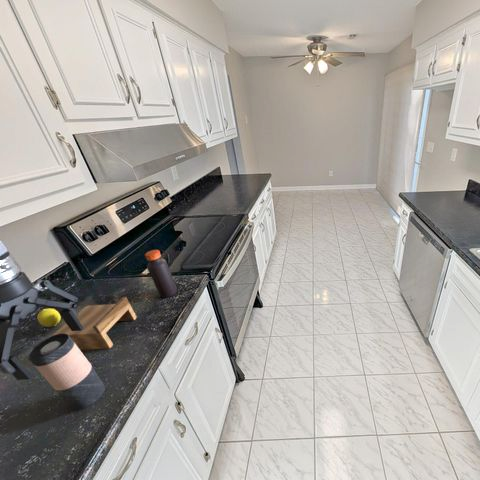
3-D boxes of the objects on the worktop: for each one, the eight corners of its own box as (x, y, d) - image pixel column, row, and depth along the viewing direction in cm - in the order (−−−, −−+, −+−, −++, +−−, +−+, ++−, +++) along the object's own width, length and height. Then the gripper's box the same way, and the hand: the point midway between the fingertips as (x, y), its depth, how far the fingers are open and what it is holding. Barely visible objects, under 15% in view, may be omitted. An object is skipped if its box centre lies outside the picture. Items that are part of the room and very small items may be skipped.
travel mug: (112, 388, 71) (76, 338, 62) (80, 415, 65) (35, 364, 56) (96, 378, 74) (60, 329, 65) (65, 403, 68) (20, 353, 59)
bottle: (172, 297, 105) (155, 256, 96) (156, 298, 106) (138, 257, 96) (180, 287, 111) (165, 248, 102) (165, 288, 112) (148, 249, 102)
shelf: (63, 350, 84) (46, 328, 79) (95, 319, 96) (83, 299, 92) (110, 348, 84) (96, 326, 79) (137, 317, 96) (126, 296, 92)
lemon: (43, 333, 92) (30, 317, 88) (46, 324, 96) (34, 308, 92) (63, 326, 94) (52, 310, 91) (66, 317, 98) (54, 302, 95)
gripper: (-69, 325, 40) (14, 404, 50) (68, 248, 62) (107, 313, 72) (-114, 327, 40) (-23, 406, 50) (39, 250, 63) (81, 315, 72)
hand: (54, 351), depth 61 cm, fingers open, 13 cm apart
